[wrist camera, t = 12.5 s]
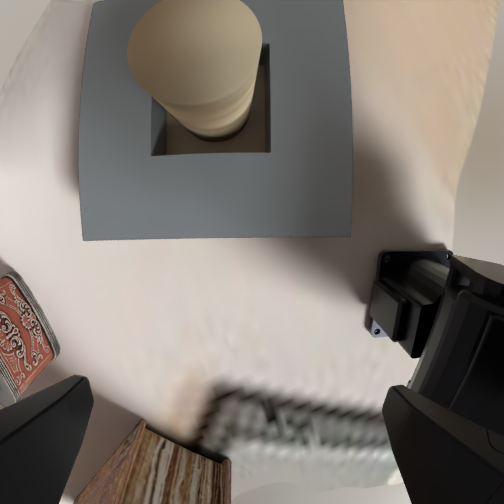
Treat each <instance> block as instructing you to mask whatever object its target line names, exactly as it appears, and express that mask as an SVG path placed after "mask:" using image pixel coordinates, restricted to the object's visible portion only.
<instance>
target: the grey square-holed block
mask: <svg viewBox="0 0 504 504" xmlns="http://www.w3.org/2000/svg"><path fill="white" fill-rule="evenodd" d="M160 1H162V0H104V1H100V2H96V3H94V4H93V9H92V14H91V19H90V25H89V30H88V37H87V43H86V50H85V58H84V66H83V75H82V85H81V98H80V114H79V154H78V155H79V195H80V212H81V225H82V236H83V241H97V240H135V239H183V238H251V237H351V216H352V183H353V133H352V101H351V81H350V66H349V53H348V42H347V32H346V22H345V14H344V6H343V0H240V1H242V2H243V3H244V4H245V5H247V6H248V7H249V8H250V10H251V11H252V12H253V13H254V15H255V16H256V18H257V20H258V22H259V24H260V28H261V32H262V47H261V53H260V58H259V64H258V69H257V75H256V81H255V86H254V92H253V98H252V104H251V110H250V115H249V119H248V122H247V124H246V125H245V127H244V128H243V130H242V131H241V132H240V133H239V134H237V135H236V136H234V137H233V138H231V139H229V140H226V141H222V142H207V141H204V140H201V139H199V138H197V137H195V136H194V135H193V134H192V133H191V132H190V131H189V130H187V129H186V128H185V127H184V126H183V125H182V124H181V123H180V122H179V121H178V120H177V119H176V118H175V117H174V116H173V115H172V114H171V113H169V112H168V111H167V110H166V109H165V108H164V107H163V106H162V105H161V104H160V103H159V102H158V101H157V100H156V99H154V98H153V97H152V96H151V95H150V94H149V93H148V92H147V91H146V90H145V89H144V88H142V86H141V85H140V84H139V83H138V82H137V81H136V80H135V78H134V77H133V75H132V73H131V71H130V68H129V65H128V60H127V47H128V41H129V38H130V35H131V33H132V31H133V29H134V27H135V25H136V24H137V22H138V21H139V19H140V18H141V17H142V16H143V15H144V14H145V13H146V12H147V11H148V10H149V9H150V8H151V7H153V6H154V5H155V4H157V3H159V2H160Z"/></svg>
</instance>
